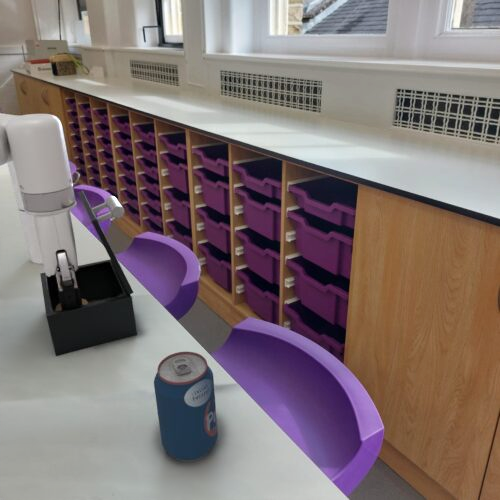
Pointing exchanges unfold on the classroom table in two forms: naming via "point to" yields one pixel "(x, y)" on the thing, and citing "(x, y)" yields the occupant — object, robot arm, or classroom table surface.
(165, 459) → the classroom table surface
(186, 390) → the soda can
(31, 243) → the cylindrical container
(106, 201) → the lid
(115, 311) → the black hinged storage box
